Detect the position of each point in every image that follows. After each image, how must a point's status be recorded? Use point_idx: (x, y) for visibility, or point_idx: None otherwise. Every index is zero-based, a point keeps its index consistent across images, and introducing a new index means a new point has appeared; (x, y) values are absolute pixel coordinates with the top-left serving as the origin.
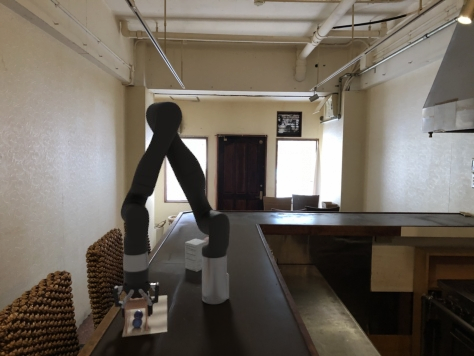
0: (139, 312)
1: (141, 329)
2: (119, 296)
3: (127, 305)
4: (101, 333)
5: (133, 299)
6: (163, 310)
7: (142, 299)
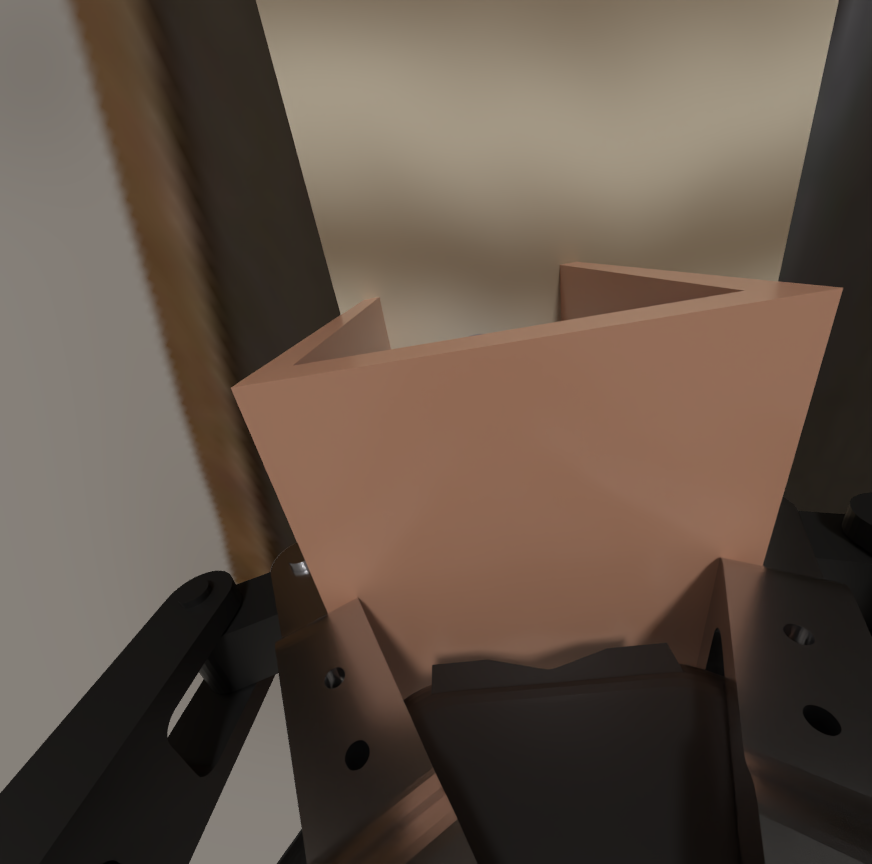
0: None
1: None
2: (163, 705)
3: None
4: (237, 490)
5: (466, 645)
6: (755, 174)
7: None
